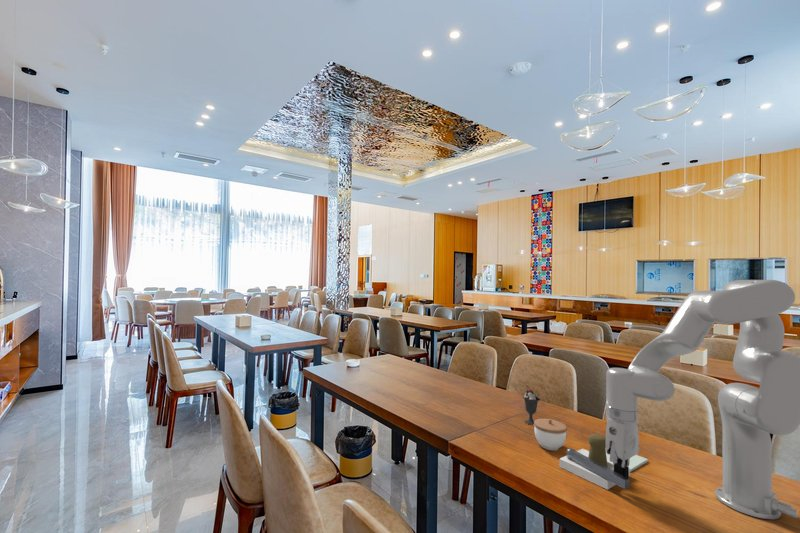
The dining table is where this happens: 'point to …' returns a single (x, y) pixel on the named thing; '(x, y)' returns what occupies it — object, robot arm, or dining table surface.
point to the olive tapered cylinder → (598, 449)
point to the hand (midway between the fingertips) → (621, 479)
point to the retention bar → (598, 468)
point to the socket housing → (587, 470)
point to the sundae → (530, 404)
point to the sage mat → (633, 461)
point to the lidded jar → (550, 433)
